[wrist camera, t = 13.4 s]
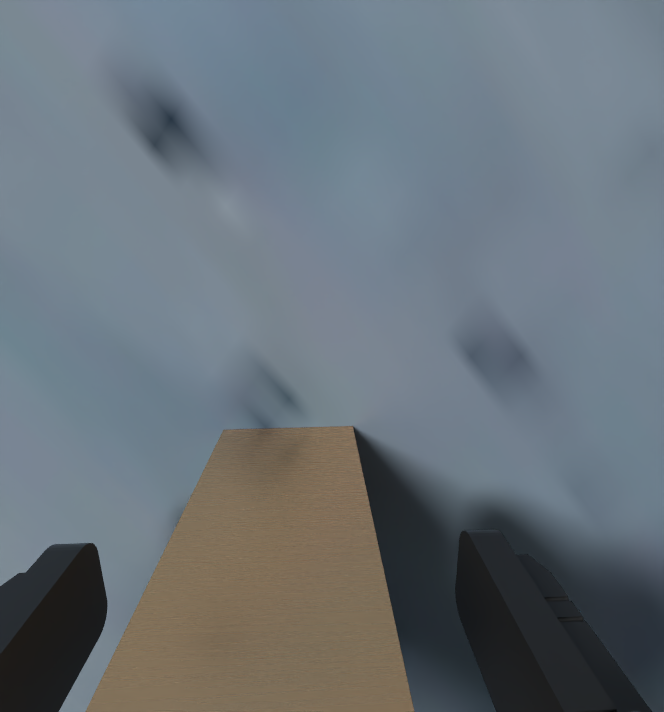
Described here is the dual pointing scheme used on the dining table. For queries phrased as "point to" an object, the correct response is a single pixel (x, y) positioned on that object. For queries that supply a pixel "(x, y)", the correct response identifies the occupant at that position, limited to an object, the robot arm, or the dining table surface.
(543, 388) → the dining table surface
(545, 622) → the robot arm
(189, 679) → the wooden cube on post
